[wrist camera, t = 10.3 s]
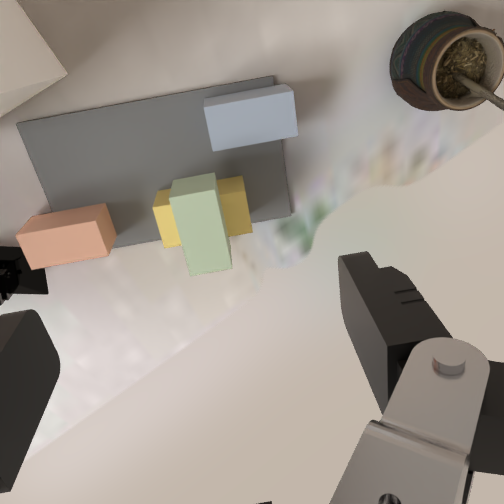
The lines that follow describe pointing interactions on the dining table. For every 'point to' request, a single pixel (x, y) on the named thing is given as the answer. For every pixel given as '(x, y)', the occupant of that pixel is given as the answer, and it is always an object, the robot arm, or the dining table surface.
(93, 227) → the terracotta block
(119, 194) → the mat
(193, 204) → the green block
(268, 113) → the blue block
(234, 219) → the mustard block
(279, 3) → the dining table surface
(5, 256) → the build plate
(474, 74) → the mate gourd
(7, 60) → the milk
